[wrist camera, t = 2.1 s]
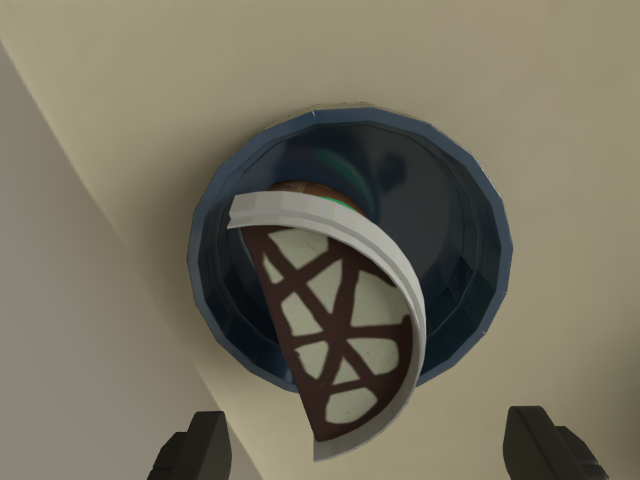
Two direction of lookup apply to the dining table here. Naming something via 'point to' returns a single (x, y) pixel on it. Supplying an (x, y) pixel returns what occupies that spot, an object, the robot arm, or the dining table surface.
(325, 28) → the dining table surface
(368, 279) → the food container
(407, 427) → the dining table surface
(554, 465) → the robot arm
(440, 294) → the bowl
